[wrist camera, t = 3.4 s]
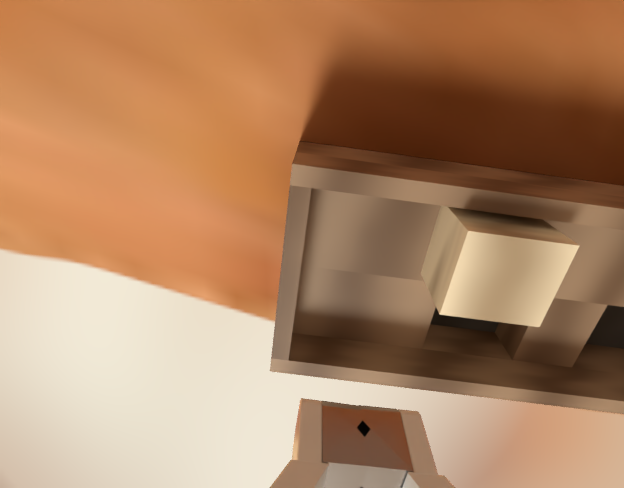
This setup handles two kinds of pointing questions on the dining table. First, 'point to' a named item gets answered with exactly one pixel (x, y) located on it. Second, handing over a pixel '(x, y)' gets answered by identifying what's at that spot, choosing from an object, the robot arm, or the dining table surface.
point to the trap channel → (416, 297)
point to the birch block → (495, 266)
